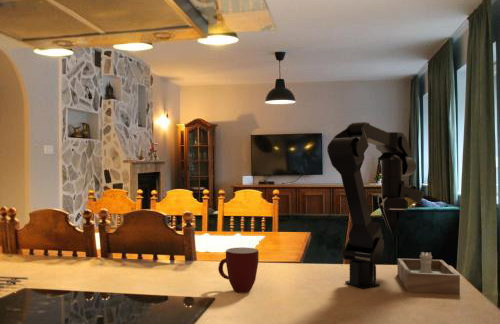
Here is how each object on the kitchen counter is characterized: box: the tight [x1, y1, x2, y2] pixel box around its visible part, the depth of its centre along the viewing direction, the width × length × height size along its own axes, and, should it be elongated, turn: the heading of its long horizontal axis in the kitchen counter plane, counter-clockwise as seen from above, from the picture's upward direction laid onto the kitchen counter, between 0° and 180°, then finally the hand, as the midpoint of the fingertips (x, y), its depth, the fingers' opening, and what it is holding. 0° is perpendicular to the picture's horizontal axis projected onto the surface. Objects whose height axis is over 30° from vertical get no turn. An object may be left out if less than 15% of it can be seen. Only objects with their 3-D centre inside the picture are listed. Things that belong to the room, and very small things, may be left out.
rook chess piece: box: [419, 251, 433, 273], centre depth 123 cm, size 4×4×8 cm
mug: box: [217, 246, 260, 294], centre depth 116 cm, size 10×8×10 cm
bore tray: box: [397, 258, 461, 295], centre depth 123 cm, size 18×12×4 cm, turn 170°
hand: (391, 231), depth 134 cm, fingers open, 9 cm apart
